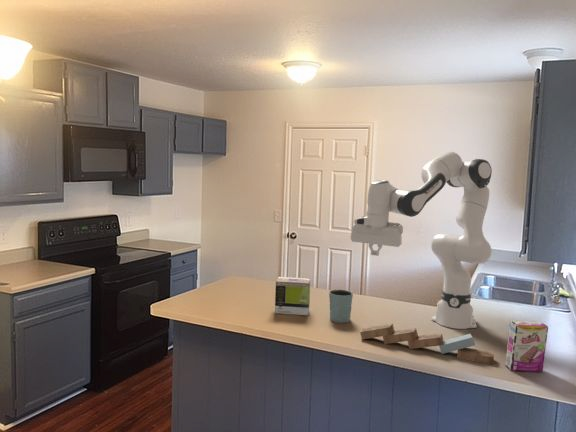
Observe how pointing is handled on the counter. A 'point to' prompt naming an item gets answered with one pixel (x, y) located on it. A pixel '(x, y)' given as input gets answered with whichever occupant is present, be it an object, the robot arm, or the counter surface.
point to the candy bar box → (526, 346)
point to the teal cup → (340, 305)
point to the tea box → (292, 295)
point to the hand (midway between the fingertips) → (374, 255)
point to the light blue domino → (457, 343)
